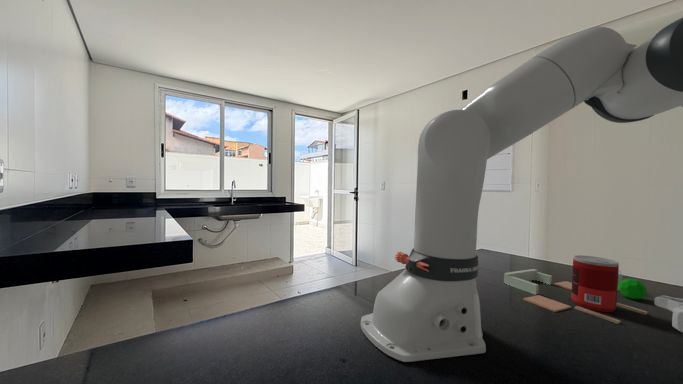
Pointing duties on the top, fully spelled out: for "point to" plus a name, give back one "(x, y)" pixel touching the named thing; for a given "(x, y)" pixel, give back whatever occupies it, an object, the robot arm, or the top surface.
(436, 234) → the robot arm
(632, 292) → the polyhedron
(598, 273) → the canned food
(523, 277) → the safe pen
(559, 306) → the tiles
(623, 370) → the top surface
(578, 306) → the lane kerbs
